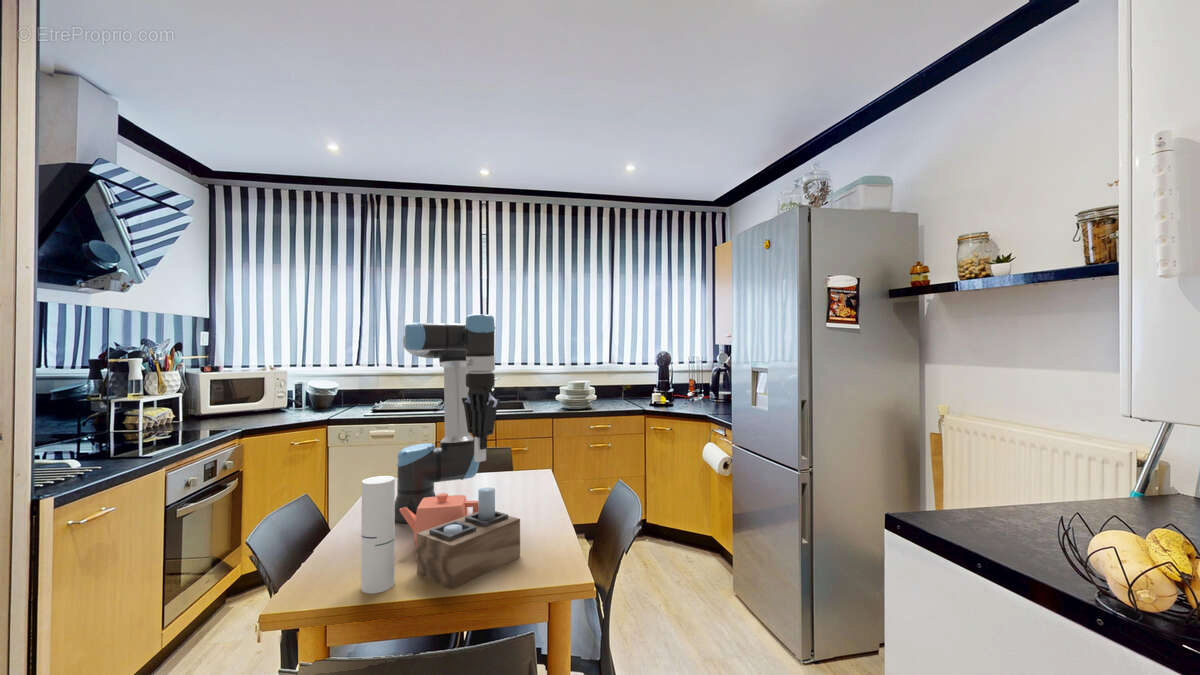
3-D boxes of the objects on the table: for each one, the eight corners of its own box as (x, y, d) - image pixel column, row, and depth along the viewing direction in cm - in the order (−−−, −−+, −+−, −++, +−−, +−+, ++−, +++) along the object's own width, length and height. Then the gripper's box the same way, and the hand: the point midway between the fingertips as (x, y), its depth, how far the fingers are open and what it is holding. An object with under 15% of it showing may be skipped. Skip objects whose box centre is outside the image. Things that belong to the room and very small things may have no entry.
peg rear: (474, 524, 130) (474, 490, 130) (487, 519, 134) (487, 486, 134) (486, 527, 128) (485, 493, 128) (498, 522, 131) (498, 489, 131)
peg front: (440, 564, 121) (440, 528, 121) (454, 558, 125) (454, 523, 125) (451, 569, 119) (451, 532, 119) (465, 562, 122) (465, 526, 122)
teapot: (394, 556, 132) (394, 503, 132) (404, 538, 144) (404, 490, 144) (478, 549, 136) (478, 498, 136) (480, 532, 148) (480, 486, 148)
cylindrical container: (368, 579, 118) (368, 476, 119) (398, 578, 119) (398, 475, 119) (356, 594, 111) (356, 484, 112) (388, 592, 112) (388, 483, 112)
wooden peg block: (416, 573, 121) (416, 529, 121) (485, 544, 139) (485, 505, 139) (452, 589, 113) (452, 541, 113) (520, 556, 131) (520, 515, 131)
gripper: (453, 372, 131) (453, 460, 130) (485, 373, 123) (485, 467, 123) (475, 371, 137) (476, 455, 136) (507, 372, 129) (507, 461, 129)
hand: (480, 460), depth 130 cm, fingers closed
